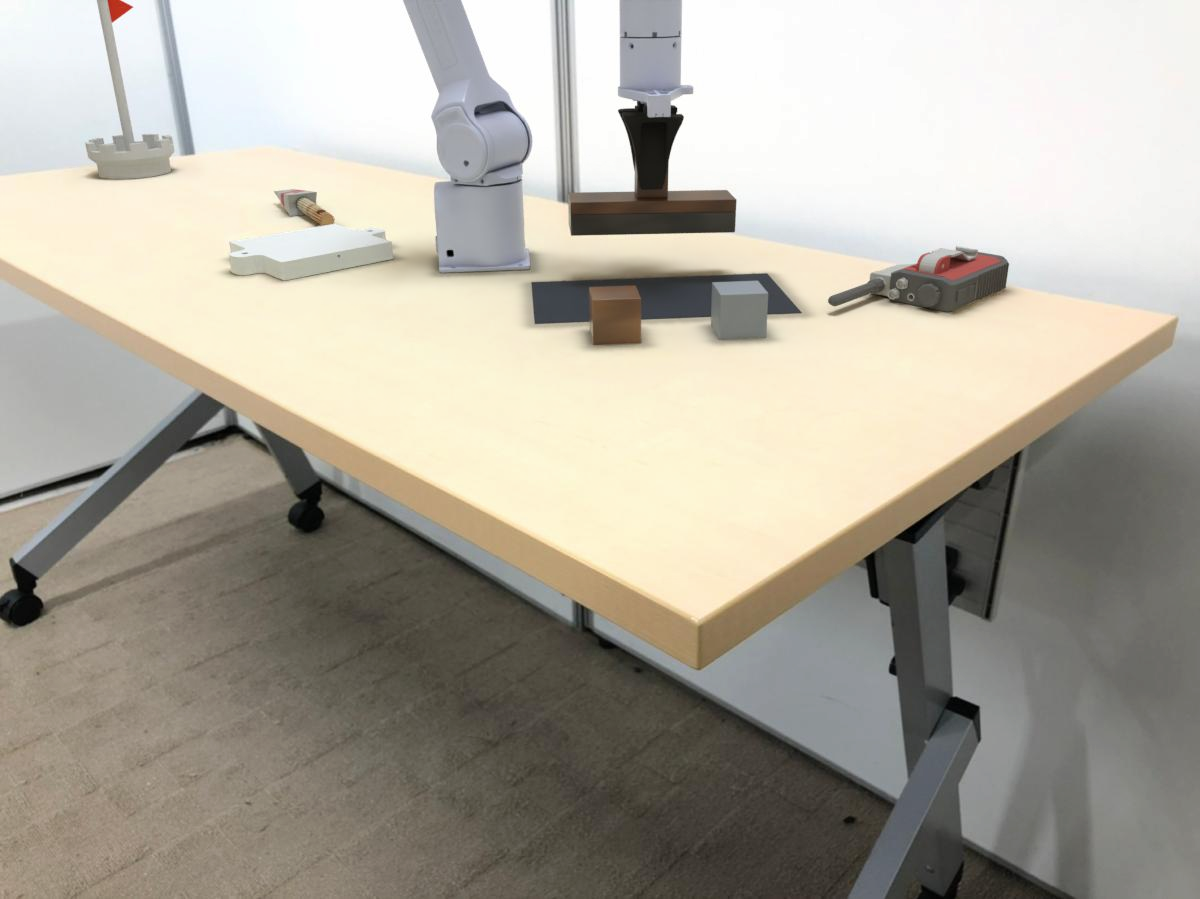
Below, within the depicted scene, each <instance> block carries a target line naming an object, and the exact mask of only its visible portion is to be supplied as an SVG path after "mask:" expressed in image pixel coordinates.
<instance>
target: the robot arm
mask: <svg viewBox="0 0 1200 899" xmlns="http://www.w3.org/2000/svg"><path fill="white" fill-rule="evenodd" d="M402 2H403V4H404V7H405V10H406V12H407V15H408V17H409V20H410V22H411V26H412V27H413V30H414V32H415V35H416V39H417V40H418V43H419V46H420V48H421V50H422V54H423V57H424V59H425V61H426V64H427V67H428V69H429V72H430V74H431V77H432V80H433V82H434V84H435V88H436V90H437V92H438V97H437V100H436V102H435V104H434V107H433V109H432V112H431V116H430V119H431V121H432V123H433V127H434V129H435V134H436V153H437V158H438V161H439V163H440V165H441V166H442V168H443V169H444V171H445V172H446V173H447V175H449V176H450V180H448V181H436V182H435V183H434V184H433V185H434V187H433V188H434V189H433V201H434V202H433V203H434V218H435V233H436V235H435V237H434V238H435V239H434V240H435V251H436V253H437V256H438V257H437V258H438V266H439V267H438V272H439V273H440V274H441V273H442V274H447V273H472V272H473V273H474V272H475V273H476V272H498V271H500V272H502V271H503V272H504V271H526V270H527V271H528V270H530V269H531V260H530V249H529V248H526V234H525V233H526V232H525V214H524V213H525V212H524V190H523V188H524V187H523V174H524V173H523V172H524V169H523V164H524V163H526V161H527V160H528V158H529V157H530V155H531V152H532V148H533V134H532V130H531V126H530V124H529V122H528V121H527V120H526V118H525V117H524V116H523V115H522V114H521V113H520V112H519V111H518V110H517V108H516V107H515V105H514V103H513V101H512V99H511V96H510V93H509V92H508V91H507V90H506V89H505V88H504V87H503V86H502V85H501V84H499V83H498V82H497V81H496V80H494V79H493V78H492V76H491V75H490V73H489V71H488V68H487V65H486V63H485V60H484V58H483V55H482V52H481V49H480V47H479V44H478V42H477V39H476V36H475V33H474V30H473V28H472V25H471V23H470V19H469V18H468V15H467V12H466V8H465V7H464V5H463V2H462V0H402ZM682 27H683V0H619V86H618V87H617V96H618V97H619V98H623V99H626V100H632V101H633V102H636V105H634V107H627V108H619V109H618V110H617V112H618V114H619V116H620V118H621V120H622V123H623V125H624V128H625V131H626V134H627V139H628V143H629V147H630V153H631V159H632V165H633V170H634V172H635V160H636V168H637V175H638V180H639V184H640V187H641V190H651V189H662V188H663V185H664V182H665V177H666V172H667V167H668V168H669V166H668V162H669V161H670V156H671V153H672V148H673V146H674V145H673V144H674V142H675V140H676V136H677V135H678V132H679V131H680V128H681V126H682V125H683V122H684V118H685V116H684V115H683V114H682V113H678V107H677V106H676V105H674V104H672V101H674V100H676V99H678V98H680V97H682V96H683V95H684V96H685V95H693V94H694V86H693V85H692V84H682V36H683V34H682V30H683V28H682ZM669 163H670V162H669Z"/></svg>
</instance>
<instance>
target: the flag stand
mask: <svg viewBox="0 0 1200 899" xmlns="http://www.w3.org/2000/svg"><path fill="white" fill-rule="evenodd" d="M96 3H97V8H98V14H99V18H100V25H101V29H102V35H103V40H104V45H105V50H106V55H107V60H108V66H109V70H110V76H111V81H112V85H113V86H112V87H113V91H114V97H115V102H116V106H117V111H118V117H119V122H120V128H121V132H122V134H118V135H112V136H111V138H112V143H105V141H104V138H103V137H95V138H91V139H88V141H86V142H84V145H85V149H86V154H87V158H88V159H89V160H91V161H92V162H93V163H94V164H95V165H96V167H97V173H98V177H99V178H102V179H108V180H131V179H141V178H142V179H144V178H151V177H158V176H162V175H166V174H169V173H170V172H172V168H171V162H170V158H171V157H172V156H173V154H175V146H174V140H173V136H172V135H170V134H163V135H161V138H160V135H159V133H143V134H141V137H142V140H135V137H134V133H133V132H134V131H133V127H132V121H131V116H130V112H129V106H128V101H127V96H126V90H125V85H124V79H123V75H122V74H123V73H122V68H121V64H120V59H119V54H118V49H117V43H116V37H115V33H114V28H113V23H114V22H115V21H117V20H118V19H120V18H121V17H122V16H124V15H125V14H127V13H128V12H129V11H130V10H132V9H133V8H134V6H133V5H131V4H129V3H126V2H125V1H123V0H96Z"/></svg>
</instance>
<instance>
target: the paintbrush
mask: <svg viewBox="0 0 1200 899" xmlns="http://www.w3.org/2000/svg"><path fill="white" fill-rule="evenodd" d="M273 193H274V194H275V196H276V197H277V199H278V200H279V202H280V203H281V204H282V206H283V208H284V209H285V210H286V213H288V215H289V217H294V216H301V215H306V216H307V217H309V218H310V219H312V220H313V221H315V222H316V223H317V224H319V225H320V226H325V225H331V224H335V217H334V216H333V214H332V213H330V212H328V211H327V210H325V209H324V208H323V207H321V206H319V205H318V204H317V197H318V196H317V194H318V192H317V191H312V190H305V189H304V190H303V189H296V188H293V189H291V188H290V189H283V190H274V191H273Z"/></svg>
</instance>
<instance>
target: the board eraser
mask: <svg viewBox="0 0 1200 899" xmlns="http://www.w3.org/2000/svg"><path fill="white" fill-rule="evenodd" d="M669 163H670V162H668V167H667V172H666V177H665V182H664V185H663V188H662V189H651V190H641V187H640V184H639V180H638V175H637V168H636V160H635V171H634V191H589V192H587V191H586V192H585V191H584V192H568V194H567V198H568V199H567V204H568V206H567V207H568V208H567V209H568V210H567V211H568V212H567V213H568V227H569V232H570V236H572V237H573V236H575V237H576V236H577V237H579V236H580V237H581V236H624V235H626V236H627V235H629V236H630V235H669V234H670V235H672V234H673V235H676V234H678V235H679V234H718V233H719V234H723V233H724V234H725V233H726V234H727V233H736V219H737V218H736V217H737V201H738V200H737V198H736V197H735V196H733V194H732V193H731V192H730V191H729V190H728V189H703V190H701V189H699V190H669Z"/></svg>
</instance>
